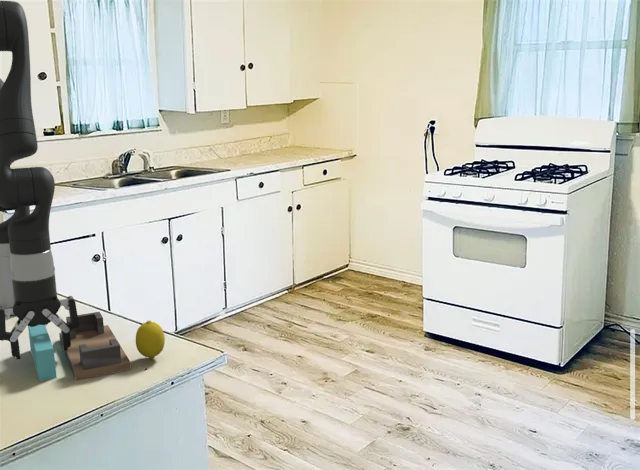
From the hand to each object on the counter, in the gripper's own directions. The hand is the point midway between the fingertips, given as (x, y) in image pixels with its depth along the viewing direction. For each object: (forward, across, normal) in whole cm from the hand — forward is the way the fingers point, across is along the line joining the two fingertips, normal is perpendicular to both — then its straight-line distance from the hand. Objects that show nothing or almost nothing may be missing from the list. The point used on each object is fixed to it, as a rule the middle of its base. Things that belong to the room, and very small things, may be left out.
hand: (42, 353), depth 132 cm
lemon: (+2, -19, +8) cm, 21 cm away
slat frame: (+2, -10, 0) cm, 10 cm away
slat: (+2, 0, 0) cm, 2 cm away
